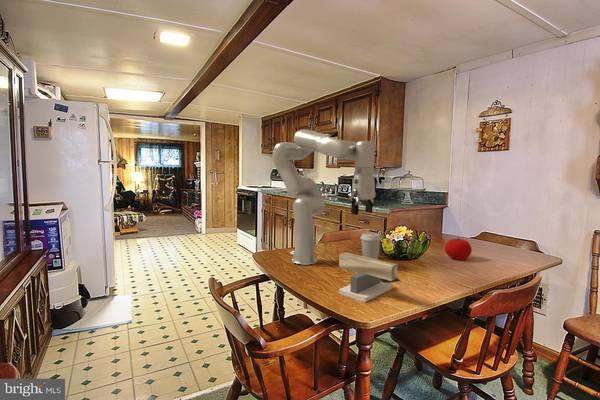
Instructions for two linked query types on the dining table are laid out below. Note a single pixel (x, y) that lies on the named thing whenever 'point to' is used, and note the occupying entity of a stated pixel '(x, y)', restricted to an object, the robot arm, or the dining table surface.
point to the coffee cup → (370, 245)
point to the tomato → (458, 249)
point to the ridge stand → (365, 287)
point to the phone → (388, 280)
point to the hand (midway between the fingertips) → (361, 213)
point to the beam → (368, 266)
